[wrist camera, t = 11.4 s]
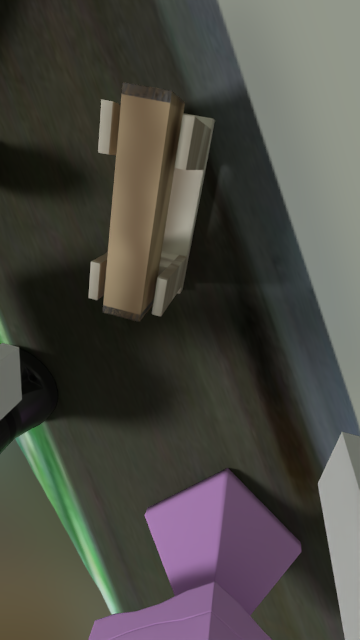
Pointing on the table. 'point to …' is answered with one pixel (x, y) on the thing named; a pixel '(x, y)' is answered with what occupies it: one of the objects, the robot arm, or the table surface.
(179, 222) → the wooden beam cradle
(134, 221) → the rail
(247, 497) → the purple pedestal trophy
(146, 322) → the table surface
